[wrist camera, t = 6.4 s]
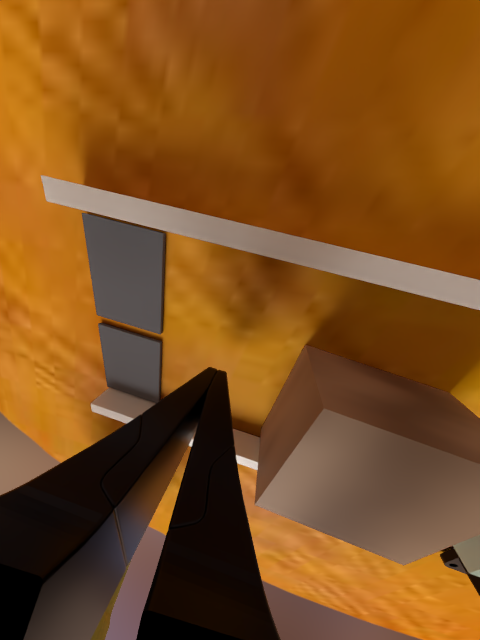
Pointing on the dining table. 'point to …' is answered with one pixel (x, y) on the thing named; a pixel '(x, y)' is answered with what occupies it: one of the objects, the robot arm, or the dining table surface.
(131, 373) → the pads
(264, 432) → the walnut block
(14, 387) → the dining table surface
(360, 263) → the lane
